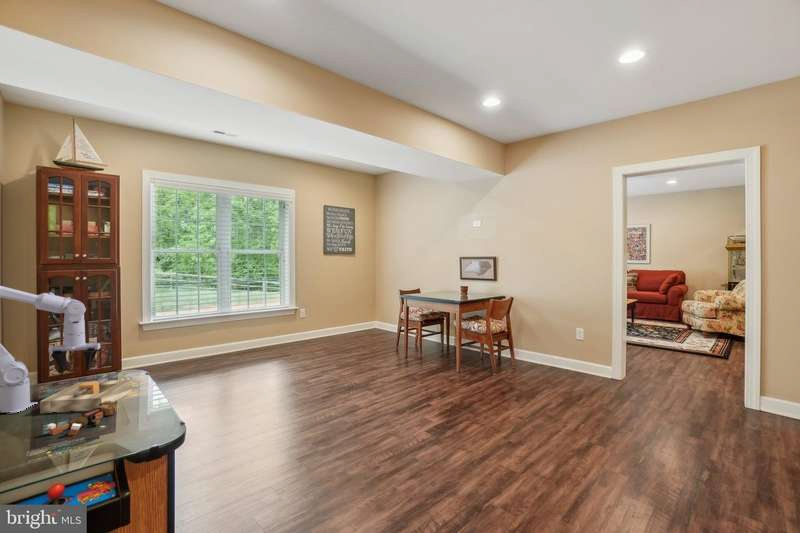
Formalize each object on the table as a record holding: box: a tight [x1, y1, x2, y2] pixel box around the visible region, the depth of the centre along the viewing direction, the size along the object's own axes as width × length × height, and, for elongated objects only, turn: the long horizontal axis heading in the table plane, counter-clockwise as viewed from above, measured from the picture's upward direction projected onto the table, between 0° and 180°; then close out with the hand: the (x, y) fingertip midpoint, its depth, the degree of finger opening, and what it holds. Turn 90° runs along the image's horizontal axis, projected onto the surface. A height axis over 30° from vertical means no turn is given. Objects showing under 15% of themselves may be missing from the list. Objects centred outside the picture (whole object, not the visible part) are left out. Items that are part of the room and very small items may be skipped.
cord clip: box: [79, 381, 99, 395], centre depth 130 cm, size 5×3×5 cm, turn 99°
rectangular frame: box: [39, 379, 133, 414], centre depth 131 cm, size 18×18×5 cm
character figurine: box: [46, 401, 119, 436], centre depth 115 cm, size 10×18×4 cm, turn 173°
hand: (75, 370), depth 135 cm, fingers open, 7 cm apart
